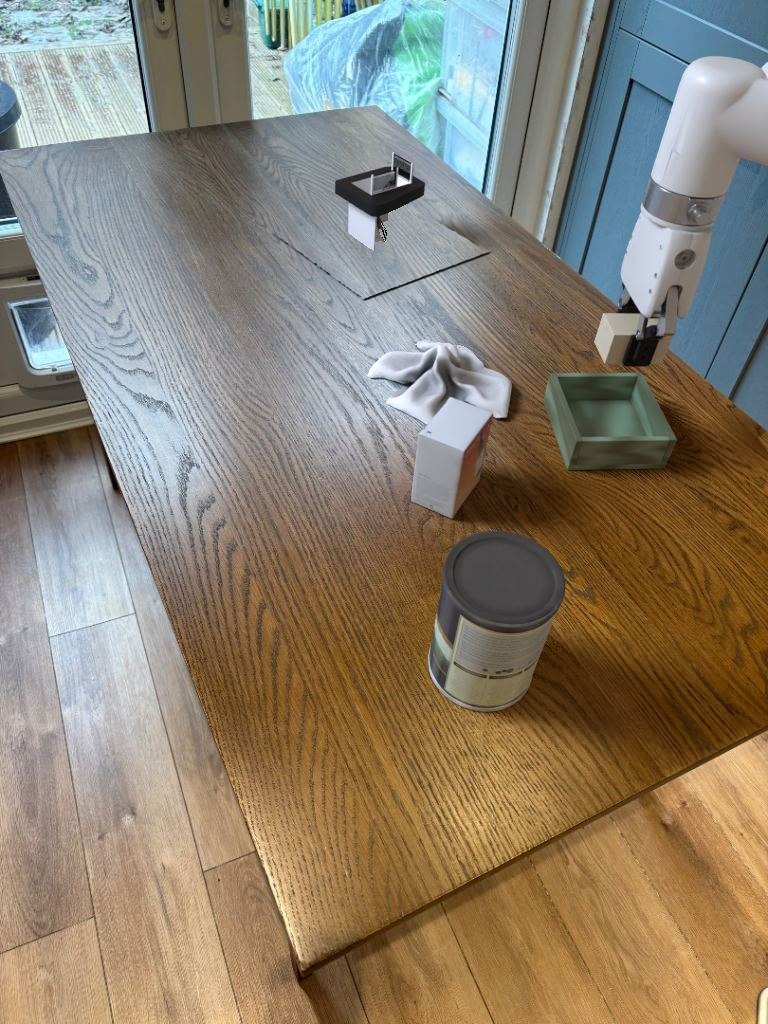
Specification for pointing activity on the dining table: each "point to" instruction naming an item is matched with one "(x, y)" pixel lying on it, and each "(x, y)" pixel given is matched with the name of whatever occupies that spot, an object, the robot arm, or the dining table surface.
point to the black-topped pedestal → (377, 198)
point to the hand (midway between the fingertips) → (628, 350)
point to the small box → (450, 456)
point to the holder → (607, 421)
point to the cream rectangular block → (623, 337)
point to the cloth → (442, 380)
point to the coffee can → (493, 618)
